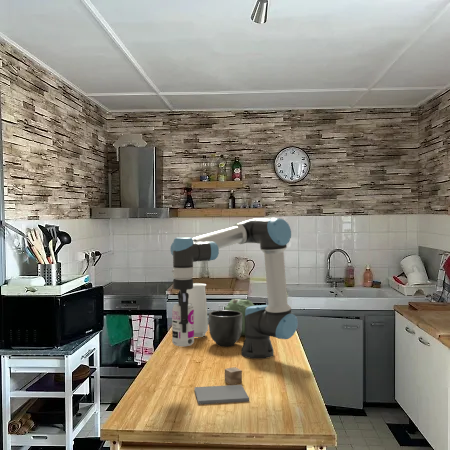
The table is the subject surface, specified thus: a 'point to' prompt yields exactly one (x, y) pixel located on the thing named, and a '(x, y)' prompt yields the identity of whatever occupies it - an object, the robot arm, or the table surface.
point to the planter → (225, 327)
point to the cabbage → (239, 309)
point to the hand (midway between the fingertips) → (183, 337)
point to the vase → (199, 308)
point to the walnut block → (233, 376)
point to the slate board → (221, 394)
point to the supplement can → (176, 326)
